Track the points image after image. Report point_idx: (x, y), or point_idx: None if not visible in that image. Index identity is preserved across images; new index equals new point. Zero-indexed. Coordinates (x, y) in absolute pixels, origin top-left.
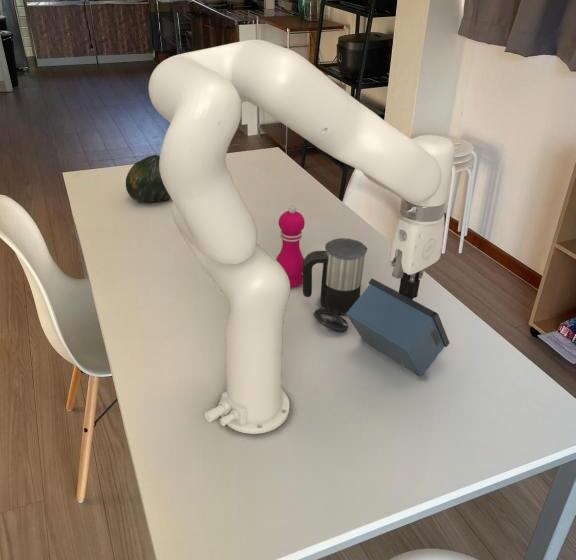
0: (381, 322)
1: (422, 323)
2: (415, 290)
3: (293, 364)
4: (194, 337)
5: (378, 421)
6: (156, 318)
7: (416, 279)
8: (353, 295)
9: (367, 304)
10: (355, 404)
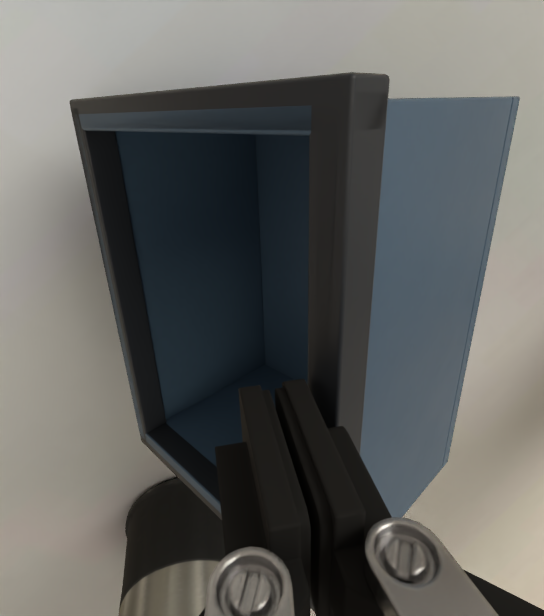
0: (450, 340)
1: (424, 143)
2: (282, 435)
3: (483, 380)
4: (537, 531)
5: (538, 52)
6: (533, 593)
7: (297, 548)
8: (194, 536)
9: (411, 468)
10: (515, 162)
